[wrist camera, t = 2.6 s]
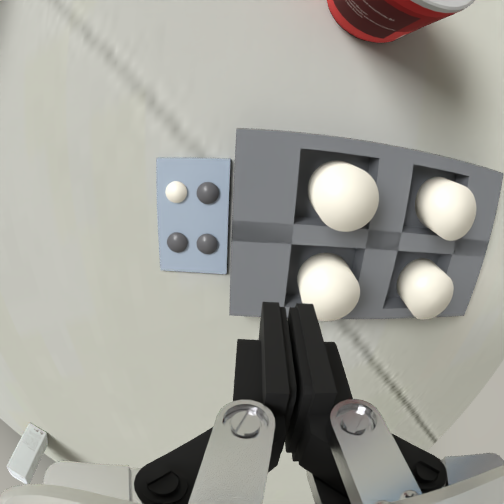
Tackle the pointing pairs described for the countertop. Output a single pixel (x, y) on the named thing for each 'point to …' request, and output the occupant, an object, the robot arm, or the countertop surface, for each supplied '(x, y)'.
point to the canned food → (390, 16)
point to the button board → (315, 220)
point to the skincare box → (28, 454)
